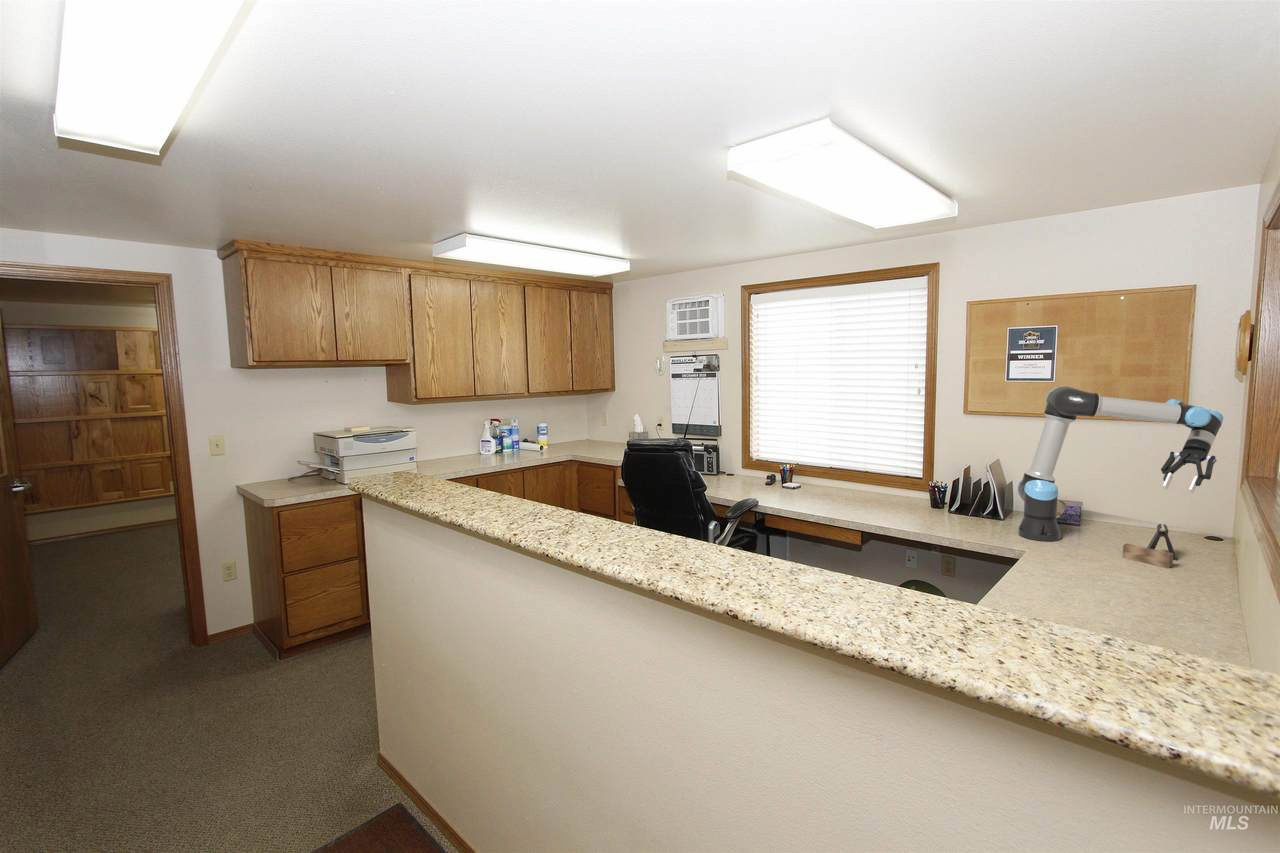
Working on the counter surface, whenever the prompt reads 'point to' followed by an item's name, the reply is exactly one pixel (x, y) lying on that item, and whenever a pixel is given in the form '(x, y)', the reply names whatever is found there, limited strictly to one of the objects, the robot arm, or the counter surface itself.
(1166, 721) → the counter surface
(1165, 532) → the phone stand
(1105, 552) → the counter surface
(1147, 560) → the block
